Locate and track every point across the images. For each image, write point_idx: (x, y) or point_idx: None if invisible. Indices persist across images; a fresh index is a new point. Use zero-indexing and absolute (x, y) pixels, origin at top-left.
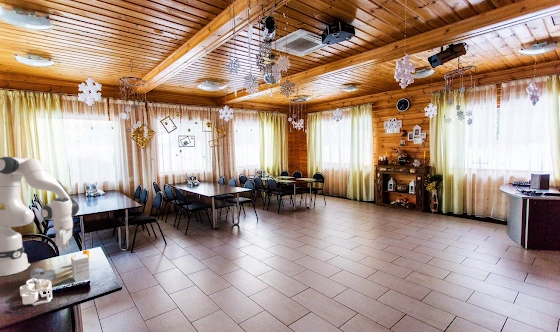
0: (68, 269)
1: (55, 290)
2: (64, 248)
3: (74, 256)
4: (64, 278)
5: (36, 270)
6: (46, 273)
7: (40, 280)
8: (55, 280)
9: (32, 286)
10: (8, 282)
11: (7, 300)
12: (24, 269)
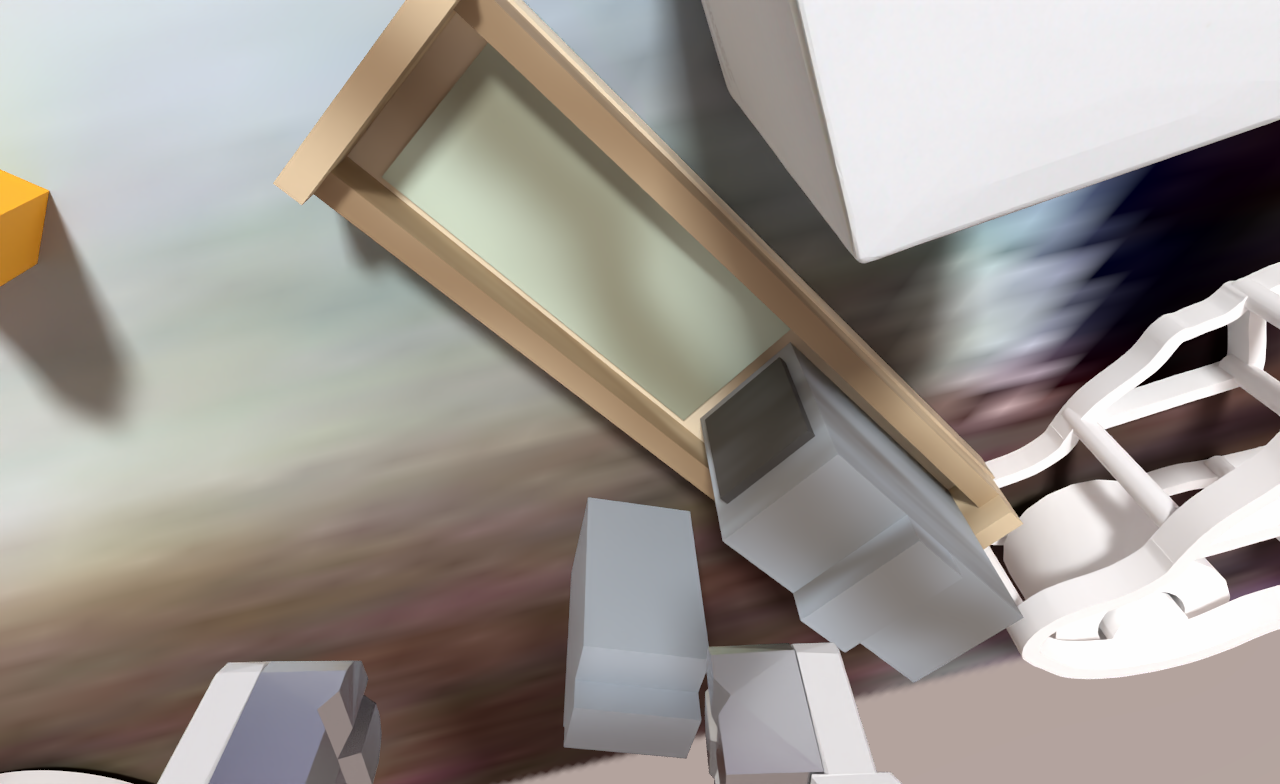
0: (431, 257)
1: (1129, 251)
2: (850, 742)
3: (847, 164)
4: (750, 232)
5: (661, 701)
6: (932, 539)
7: (1251, 532)
8: (851, 343)
9: (1203, 560)
10: (450, 777)
11: (1003, 647)
12: (92, 781)
